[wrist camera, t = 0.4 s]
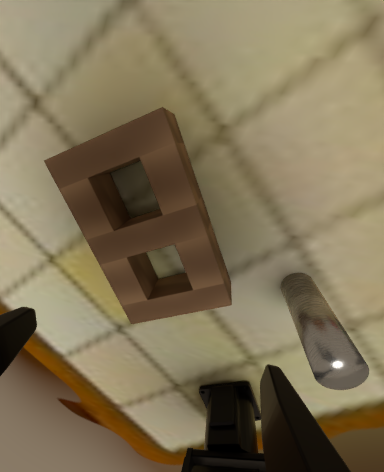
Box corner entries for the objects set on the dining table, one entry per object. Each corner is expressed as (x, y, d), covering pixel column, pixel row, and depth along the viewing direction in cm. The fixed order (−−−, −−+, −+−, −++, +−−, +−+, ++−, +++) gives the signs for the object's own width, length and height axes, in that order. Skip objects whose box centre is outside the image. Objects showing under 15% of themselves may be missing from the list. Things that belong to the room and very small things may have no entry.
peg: (316, 296, 22) (371, 387, 14) (284, 301, 23) (317, 391, 14) (311, 269, 21) (366, 350, 13) (277, 276, 22) (309, 357, 13)
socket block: (230, 282, 23) (231, 305, 19) (143, 301, 25) (131, 324, 22) (174, 114, 18) (162, 107, 15) (72, 158, 20) (43, 160, 17)
